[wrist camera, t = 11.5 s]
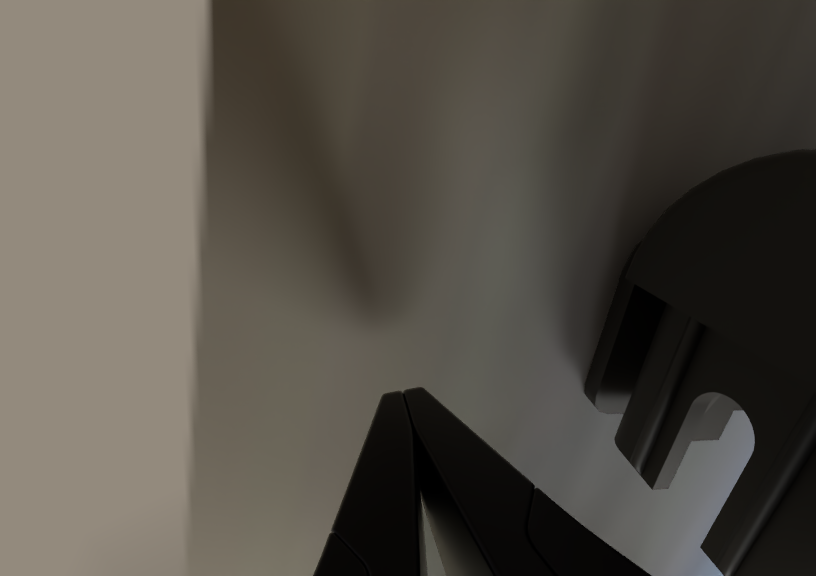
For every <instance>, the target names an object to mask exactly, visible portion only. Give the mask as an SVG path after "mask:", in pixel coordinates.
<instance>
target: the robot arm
mask: <svg viewBox="0 0 816 576" xmlns="http://www.w3.org/2000/svg"><path fill="white" fill-rule="evenodd" d="M420 493H421V494H420ZM421 497H422V501H423V505H424V508H425V511H426V515H427V518H428V521H429V524H430V527H431V530H432V533H433V536H434V539H435V542H436V545H437V548H438V551H439V554H440V557H441V560H442V563H443V566H444V569H445V572H446V575H447V576H651V575H650V574H649V573H647V572H646V571H644V570H643V569H642V568H640V567H639V566H637V565H636V564H635V563H633V562H632V561H630V560H629V559H628V558H626V557H625V556H623V555H622V554H621V553H619V552H618V551H616V550H615V549H614V548H612V547H611V546H610V545H608V544H607V543H605V542H604V541H603V540H601V539H600V538H599V537H597V536H596V535H595V534H593V533H592V532H591V531H589V530H588V529H587V528H585V527H584V526H583V525H581V524H580V523H579V522H578V521H577V520H575V519H574V518H573V517H572V516H570V515H569V514H568V513H567V512H566V511H564V510H563V509H562V508H561V507H560V506H558V505H557V504H556V503H555V502H554V501H552V500H551V499H550V498H549V497H548V496H547V495H546V494H544V493H543V492H542V491H541V490H540V489H539V488H535V485H534V484H533V483H532V482H531V481H529V480H528V479H527V478H526V477H525V476H524V475H522V474H521V473H520V472H519V471H518V470H517V469H516V468H514V467H513V466H512V465H511V464H510V463H509V462H508V461H506V460H505V459H504V458H503V457H502V456H501V455H500V454H498V453H497V452H496V451H495V450H494V449H493V448H492V447H490V446H489V445H488V444H487V443H486V442H485V441H484V440H482V439H481V438H480V437H479V436H478V435H477V434H476V433H474V432H473V431H472V430H471V429H470V428H469V427H468V426H466V425H465V424H464V423H463V422H462V421H461V420H460V419H458V418H457V417H456V416H455V415H454V414H453V413H451V412H450V411H449V410H448V409H447V408H446V407H445V406H443V405H442V404H441V403H440V402H439V401H438V400H437V399H435V398H434V397H433V396H432V395H431V394H430V393H429V392H427V391H426V390H425V389H424V388H422V387H417V388H412V389H406V390H404V392H403V393H402V392H401V391H396V392H390V393H385V394H383V395H382V397H381V400H380V402H379V405H378V408H377V410H376V413H375V416H374V418H373V421H372V424H371V426H370V429H369V431H368V434H367V437H366V439H365V442H364V445H363V447H362V450H361V453H360V455H359V458H358V461H357V463H356V466H355V468H354V471H353V474H352V476H351V479H350V482H349V484H348V487H347V490H346V492H345V495H344V498H343V500H342V503H341V505H340V508H339V511H338V513H337V516H336V519H335V521H334V524H333V527H332V530H331V531H332V533H330V534H329V537H328V539H327V542H326V545H325V547H324V550H323V552H322V555H321V558H320V560H319V562H318V565H317V567H316V570H315V572H314V574H313V576H428V574H427V561H426V549H425V536H424V524H423V512H422V503H421Z"/></svg>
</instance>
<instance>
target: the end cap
mask: <svg viewBox="0 0 816 576" xmlns="http://www.w3.org/2000/svg"><path fill="white" fill-rule="evenodd" d="M585 395H586V396H587V397H588V399H589V400H590V401H591V402H592V403H593V405H594V406H595V407H596V408H597V409H598V410H599V411H600V412H603V413H607V414H623V413H624V415H623V418H622V420H621V423H620V426H619V428H618V431H617V433H616V436H615V443H616V445H617V447H618V449H619V450H620V451H621V453H622V454H623V455H624V456H625V457H626V459H627V460H628V461H629V462H630V463H631V465H632V466H633V467H634V468H635V469H636V471H637V472H638V473H639V474H640V475H641V477H642V478H643V479H644V480H645V481H646V483H647V484H648V485H649V486H650V487H651V489H652V490H655V489H668V488H669V486H670V484H671V482H672V480H673V478H674V476H675V474H676V471H677V469H678V467H679V465H680V463H681V461H682V459H683V457H684V455H685V453H686V451H687V449H688V446H689V444H690V442H691V441H700V440H719V438H720V436H721V434H722V432H723V430H724V428H725V426H726V424H727V422H728V420H729V418H730V417H731V415H732V413H733V411H734V410H744V411H745V413H746V414H747V416H748V418H749V419H750V422H751V424H752V426H753V430H754V435H755V446H754V451H753V453H752V456H751V458H750V459H749V461H748V463H747V465H746V466H745V468H744V470H743V472H742V474H741V475H740V477H739V479H738V481H737V482H736V484H735V486H734V488H733V490H732V491H731V493H730V495H729V497H728V499H727V500H726V502H725V504H724V506H723V507H722V509H721V511H720V513H719V515H718V516H717V518H716V520H715V522H714V523H713V525H712V527H711V529H710V531H709V532H708V534H707V536H706V538H705V539H704V541H703V543H702V545H701V547H700V548H701V549H702V550H703V551H704V552H705V554H706V555H707V556H708V557H709V558H710V560H711V561H712V562H713V563H714V564H715V566H716V567H717V568H718V569H719V570H720V572H721V573H722V574H723V575H724V576H816V150H795V151H790V152H785V153H779V154H774V155H769V156H764V157H758V158H755V159H752V160H750V161H747V162H744V163H742V164H739V165H736V166H734V167H731V168H729V169H726V170H723V171H721V172H719V173H717V174H716V175H714V176H712V177H711V178H709V179H707V180H706V181H704V182H702V183H701V184H699V185H697V186H696V187H694V188H692V189H691V190H689V191H688V192H687V193H686V194H685V195H683V196H682V197H681V198H680V199H679V200H677V201H676V202H675V203H674V204H673V205H672V206H670V207H669V208H668V209H667V210H666V211H665V212H664V214H663V215H662V216H661V217H660V218H659V220H658V221H657V222H656V223H655V224H654V225H653V227H652V228H651V229H650V230H649V232H648V233H647V235H646V237H645V238H644V239H643V240H642V241H641V242H640V243H639V244H637V245H636V247H635V248H634V250H633V252H632V254H631V256H630V257H629V259H628V261H627V263H626V265H625V267H624V268H623V270H622V273H621V275H620V278H619V282H618V285H617V288H616V291H615V294H614V297H613V300H612V303H611V306H610V309H609V312H608V315H607V318H606V321H605V324H604V327H603V330H602V333H601V336H600V339H599V342H598V346H597V349H596V352H595V355H594V358H593V361H592V364H591V367H590V370H589V373H588V376H587V379H586V382H585Z"/></svg>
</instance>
